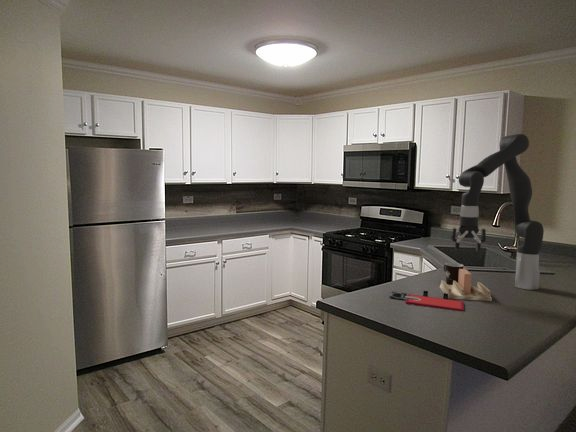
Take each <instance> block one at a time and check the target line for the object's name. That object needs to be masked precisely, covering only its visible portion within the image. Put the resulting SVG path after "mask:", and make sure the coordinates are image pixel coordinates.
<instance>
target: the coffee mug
mask: <svg viewBox="0 0 576 432" xmlns="http://www.w3.org/2000/svg"><path fill="white" fill-rule="evenodd" d="M464 266H465V265H464V264H462V263H457V262H446V263H444V265H443V271H444V272H445V283H446V284H447V285H453V281H456V282H457V283H458V277H459V269H464Z"/></svg>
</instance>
